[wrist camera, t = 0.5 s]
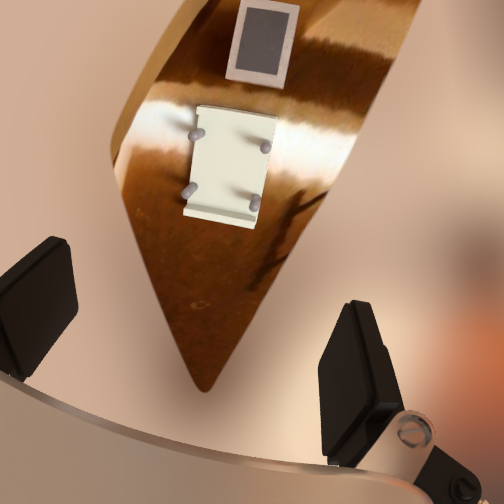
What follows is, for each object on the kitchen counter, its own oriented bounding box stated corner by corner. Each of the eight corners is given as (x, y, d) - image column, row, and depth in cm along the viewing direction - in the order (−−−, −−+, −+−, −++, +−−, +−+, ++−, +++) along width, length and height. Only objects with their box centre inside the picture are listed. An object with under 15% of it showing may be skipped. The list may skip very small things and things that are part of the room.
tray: (202, 104, 31) (192, 105, 28) (277, 116, 31) (276, 119, 28) (188, 207, 37) (178, 220, 33) (256, 220, 37) (253, 235, 33)
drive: (249, 13, 26) (241, -4, 21) (297, 21, 26) (299, 5, 21) (235, 81, 30) (224, 78, 24) (283, 89, 30) (283, 87, 24)
